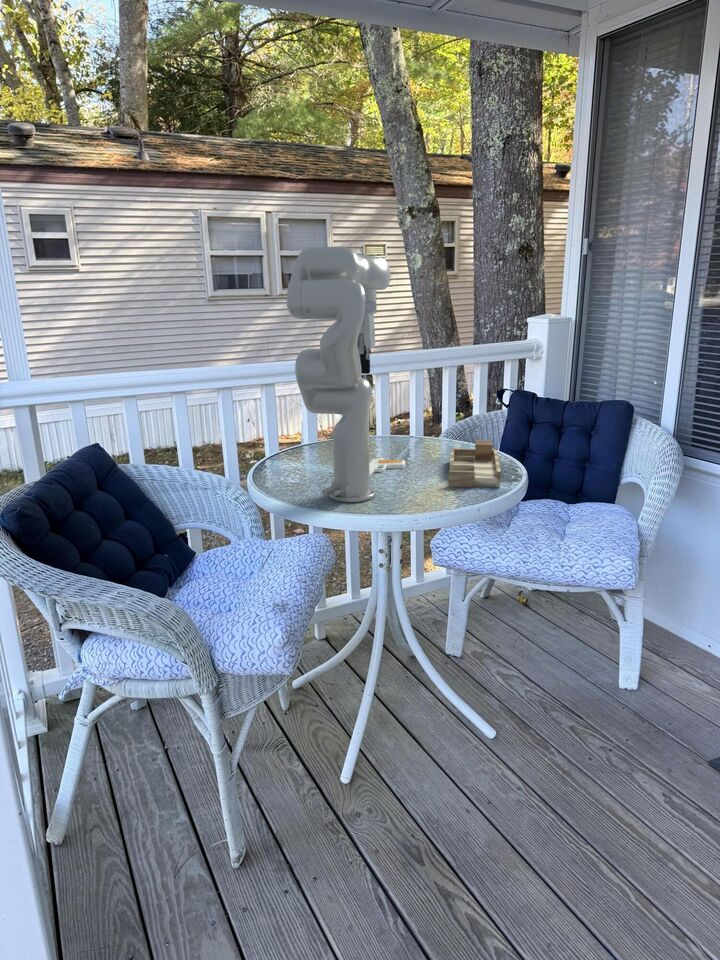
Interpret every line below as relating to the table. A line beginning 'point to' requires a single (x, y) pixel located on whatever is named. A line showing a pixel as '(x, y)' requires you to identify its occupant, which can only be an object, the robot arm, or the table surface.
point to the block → (483, 450)
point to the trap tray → (473, 470)
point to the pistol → (385, 465)
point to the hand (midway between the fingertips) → (364, 373)
